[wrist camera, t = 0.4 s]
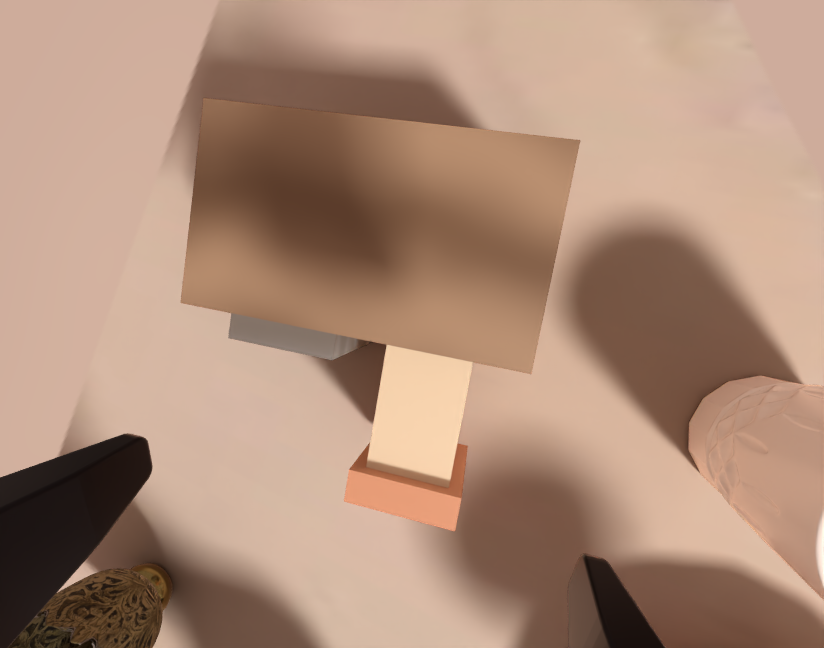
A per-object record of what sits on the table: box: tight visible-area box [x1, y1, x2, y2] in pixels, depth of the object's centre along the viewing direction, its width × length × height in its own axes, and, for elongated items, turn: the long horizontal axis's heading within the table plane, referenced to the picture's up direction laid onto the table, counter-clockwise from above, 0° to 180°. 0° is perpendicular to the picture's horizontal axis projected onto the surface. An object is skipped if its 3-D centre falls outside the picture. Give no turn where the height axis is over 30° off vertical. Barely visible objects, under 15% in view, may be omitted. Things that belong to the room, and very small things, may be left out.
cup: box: [8, 563, 172, 648], centre depth 26 cm, size 8×7×8 cm
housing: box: [181, 98, 580, 374], centre depth 20 cm, size 10×14×10 cm
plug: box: [344, 345, 473, 531], centre depth 20 cm, size 10×5×6 cm, turn 170°
